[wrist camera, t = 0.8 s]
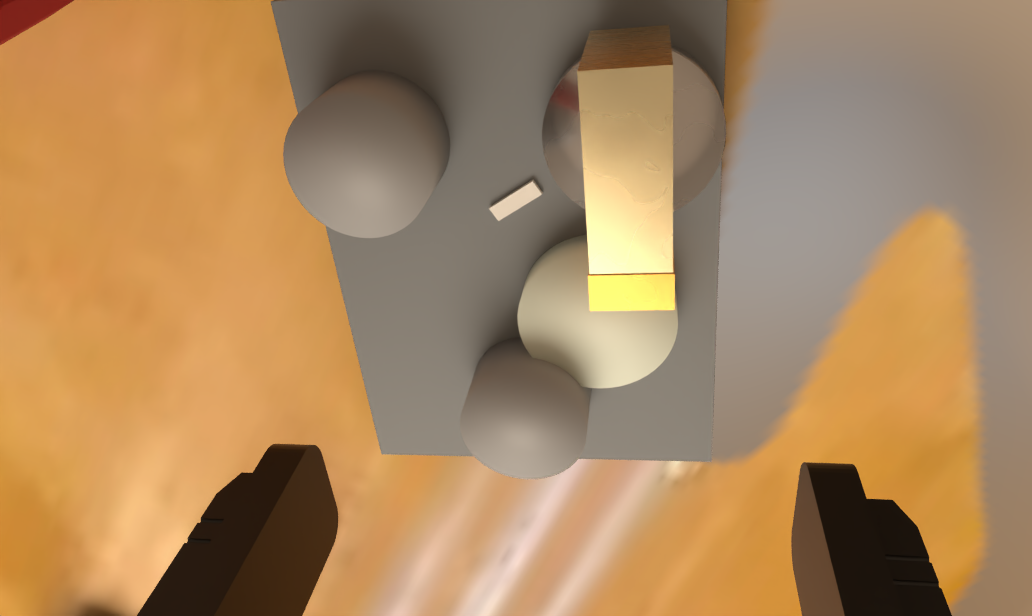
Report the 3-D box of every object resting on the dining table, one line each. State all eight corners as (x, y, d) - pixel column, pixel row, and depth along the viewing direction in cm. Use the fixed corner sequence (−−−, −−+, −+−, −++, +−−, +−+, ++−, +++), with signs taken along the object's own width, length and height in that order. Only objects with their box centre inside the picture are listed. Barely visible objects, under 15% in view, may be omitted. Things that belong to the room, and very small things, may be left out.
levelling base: (293, -8, 28) (229, 19, 24) (723, -48, 25) (737, -25, 21) (393, 426, 38) (361, 500, 34) (708, 431, 35) (716, 512, 31)
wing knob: (536, 28, 25) (507, 76, 20) (727, 14, 24) (748, 60, 19) (553, 227, 29) (532, 311, 24) (720, 222, 28) (736, 309, 22)
